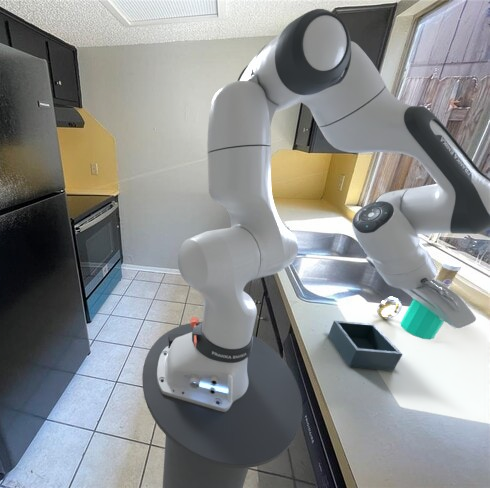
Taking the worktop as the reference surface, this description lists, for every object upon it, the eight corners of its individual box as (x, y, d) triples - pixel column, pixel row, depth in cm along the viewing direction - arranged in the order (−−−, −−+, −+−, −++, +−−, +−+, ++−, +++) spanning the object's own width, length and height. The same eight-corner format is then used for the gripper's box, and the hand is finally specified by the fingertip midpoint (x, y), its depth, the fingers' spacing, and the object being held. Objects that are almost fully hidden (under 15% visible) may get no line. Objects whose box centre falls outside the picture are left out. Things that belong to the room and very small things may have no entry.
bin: (349, 366, 67) (356, 350, 65) (328, 335, 77) (333, 320, 75) (393, 370, 66) (402, 354, 64) (366, 339, 77) (373, 323, 74)
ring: (391, 315, 87) (401, 296, 84) (399, 322, 84) (409, 302, 81) (370, 314, 87) (379, 294, 84) (377, 320, 84) (386, 300, 81)
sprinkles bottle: (434, 297, 98) (452, 266, 93) (424, 290, 102) (440, 260, 97) (447, 298, 98) (465, 267, 93) (436, 291, 102) (453, 261, 97)
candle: (418, 340, 58) (445, 296, 53) (393, 322, 63) (415, 280, 58) (441, 338, 58) (469, 295, 53) (414, 320, 64) (437, 279, 59)
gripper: (472, 287, 44) (499, 335, 48) (386, 240, 63) (410, 277, 66) (433, 306, 46) (461, 351, 50) (360, 255, 65) (385, 290, 68)
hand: (431, 308), depth 58 cm, fingers closed on candle, 5 cm apart
